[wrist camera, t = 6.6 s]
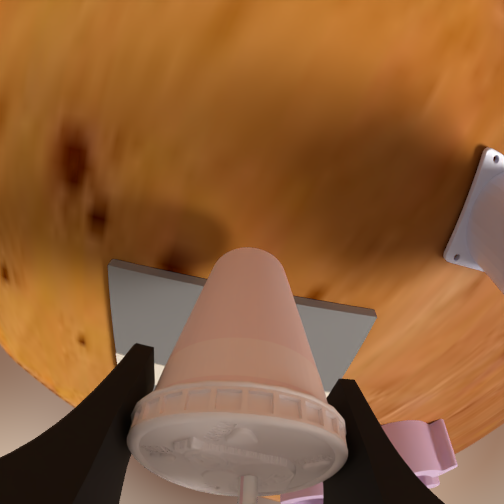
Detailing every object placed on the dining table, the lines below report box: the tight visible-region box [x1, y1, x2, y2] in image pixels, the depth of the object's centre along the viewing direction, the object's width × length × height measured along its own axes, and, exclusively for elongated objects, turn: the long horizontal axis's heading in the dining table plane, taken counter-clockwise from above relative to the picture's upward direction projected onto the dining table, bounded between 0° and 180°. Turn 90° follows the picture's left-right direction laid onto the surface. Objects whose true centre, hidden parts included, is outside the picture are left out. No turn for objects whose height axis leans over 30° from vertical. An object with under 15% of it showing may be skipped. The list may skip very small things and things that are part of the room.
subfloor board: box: [108, 259, 377, 398], centre depth 23 cm, size 18×14×1 cm
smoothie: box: [127, 247, 348, 504], centre depth 10 cm, size 6×6×14 cm
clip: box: [280, 419, 457, 504], centre depth 29 cm, size 20×12×7 cm, turn 99°
